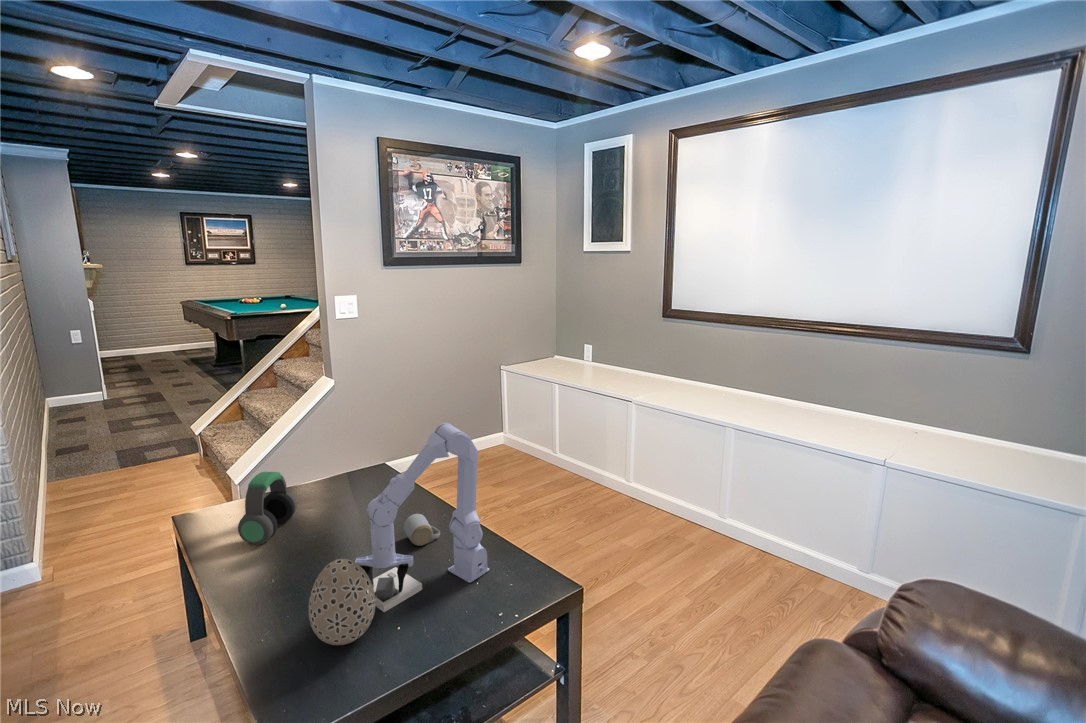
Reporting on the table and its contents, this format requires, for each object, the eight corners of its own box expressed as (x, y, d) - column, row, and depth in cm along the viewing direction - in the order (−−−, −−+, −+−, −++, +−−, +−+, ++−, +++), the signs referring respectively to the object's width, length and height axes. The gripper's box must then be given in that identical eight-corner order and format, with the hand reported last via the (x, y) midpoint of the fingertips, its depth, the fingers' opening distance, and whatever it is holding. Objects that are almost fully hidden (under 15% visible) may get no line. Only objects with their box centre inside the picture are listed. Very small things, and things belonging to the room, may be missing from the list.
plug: (395, 589, 141) (393, 577, 139) (392, 602, 138) (390, 589, 135) (381, 590, 141) (378, 577, 138) (378, 602, 137) (375, 590, 135)
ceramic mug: (411, 550, 162) (411, 527, 160) (403, 538, 168) (402, 516, 167) (444, 541, 167) (444, 518, 166) (434, 529, 174) (434, 508, 172)
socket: (422, 589, 143) (421, 582, 142) (384, 612, 134) (383, 605, 133) (395, 572, 150) (395, 566, 150) (358, 593, 141) (357, 586, 141)
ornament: (356, 608, 135) (350, 537, 131) (389, 634, 126) (385, 559, 122) (300, 640, 124) (292, 564, 120) (332, 671, 115) (325, 590, 111)
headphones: (271, 547, 163) (265, 487, 158) (236, 547, 163) (229, 487, 159) (300, 517, 181) (295, 463, 177) (269, 517, 181) (263, 462, 177)
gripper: (414, 534, 140) (416, 579, 143) (358, 536, 139) (362, 581, 142) (409, 548, 133) (412, 596, 136) (351, 551, 132) (354, 598, 135)
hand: (386, 590), depth 138 cm, fingers open, 7 cm apart
